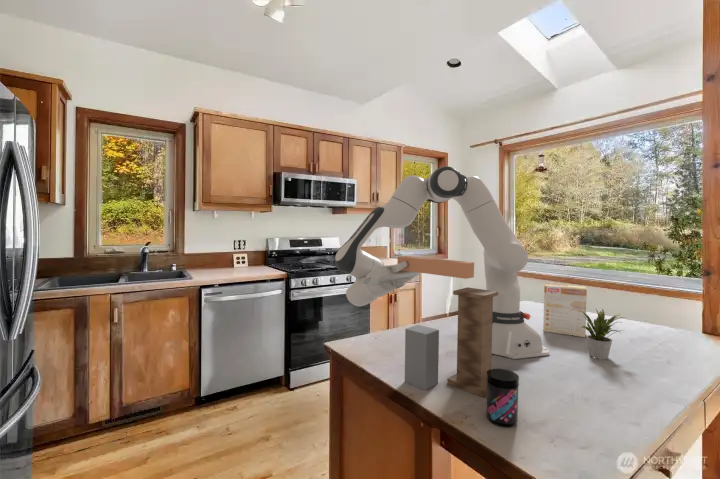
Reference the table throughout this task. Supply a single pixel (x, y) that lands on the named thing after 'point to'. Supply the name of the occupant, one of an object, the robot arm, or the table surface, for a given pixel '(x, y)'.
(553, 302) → the coffeecake box
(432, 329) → the slate pillar
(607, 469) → the table surface
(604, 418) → the table surface
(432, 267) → the terracotta beam
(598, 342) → the house plant
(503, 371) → the supplement container
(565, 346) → the table surface
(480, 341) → the walnut tower
